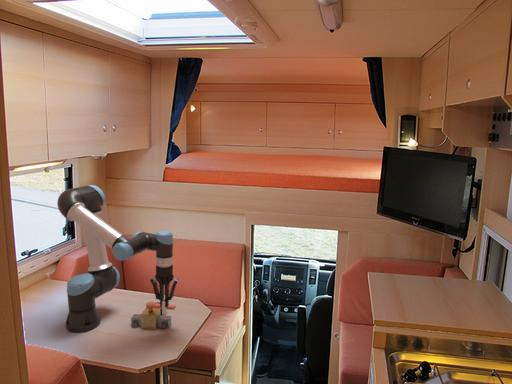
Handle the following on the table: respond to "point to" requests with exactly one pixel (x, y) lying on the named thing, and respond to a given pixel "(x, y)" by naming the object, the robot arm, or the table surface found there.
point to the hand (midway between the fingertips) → (164, 313)
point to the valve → (151, 319)
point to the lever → (158, 306)
